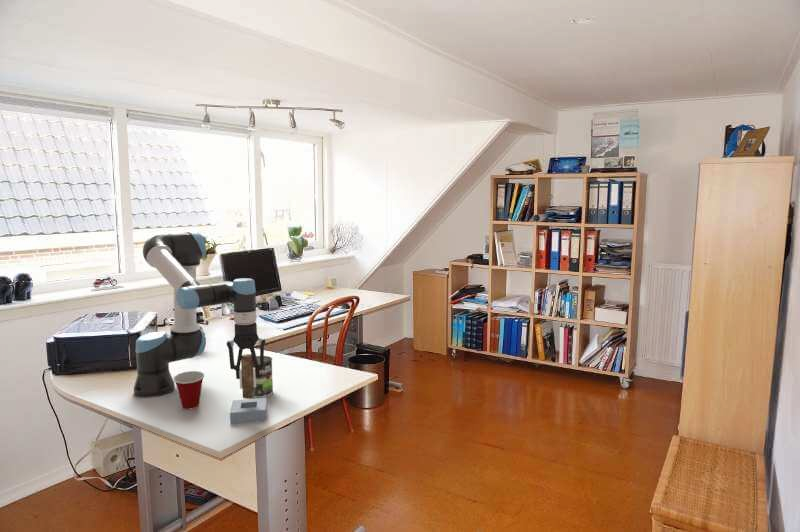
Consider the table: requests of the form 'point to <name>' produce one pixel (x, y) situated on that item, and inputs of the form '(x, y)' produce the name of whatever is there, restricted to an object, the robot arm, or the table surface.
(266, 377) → the coffee can
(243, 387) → the peg
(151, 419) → the table surface
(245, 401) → the socket block
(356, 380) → the table surface
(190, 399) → the plastic cup
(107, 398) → the table surface
